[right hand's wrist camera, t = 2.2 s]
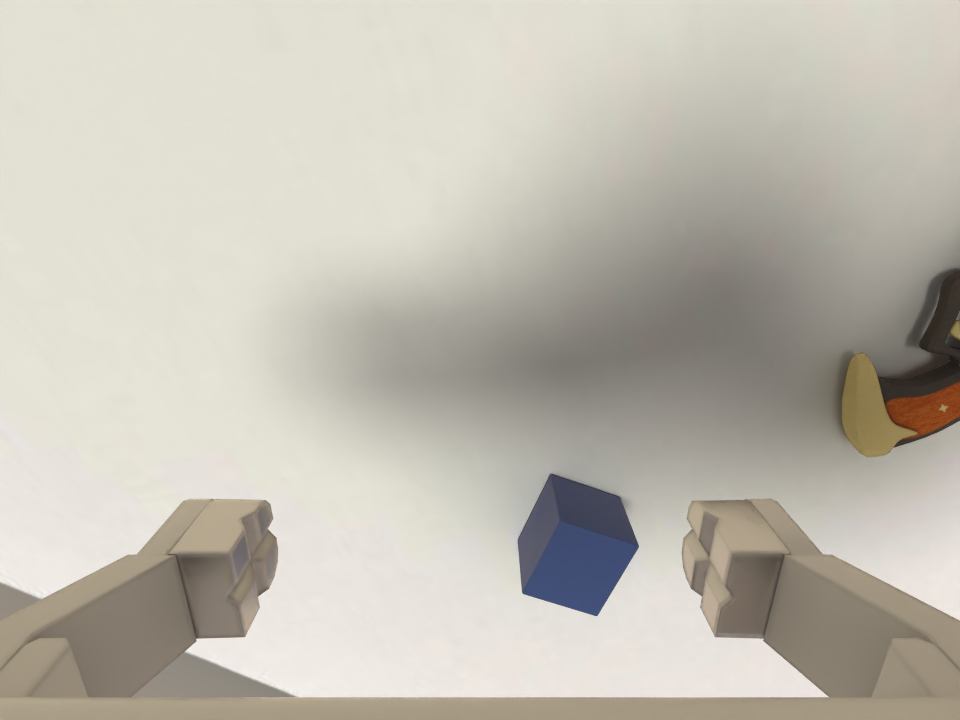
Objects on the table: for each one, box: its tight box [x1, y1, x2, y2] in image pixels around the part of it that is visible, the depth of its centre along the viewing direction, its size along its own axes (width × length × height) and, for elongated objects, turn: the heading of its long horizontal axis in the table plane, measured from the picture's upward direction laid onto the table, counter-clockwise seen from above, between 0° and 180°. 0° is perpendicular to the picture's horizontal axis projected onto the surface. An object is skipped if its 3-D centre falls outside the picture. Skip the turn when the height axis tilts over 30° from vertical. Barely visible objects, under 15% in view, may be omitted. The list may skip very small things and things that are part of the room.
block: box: [518, 475, 639, 616], centre depth 28 cm, size 4×5×4 cm
